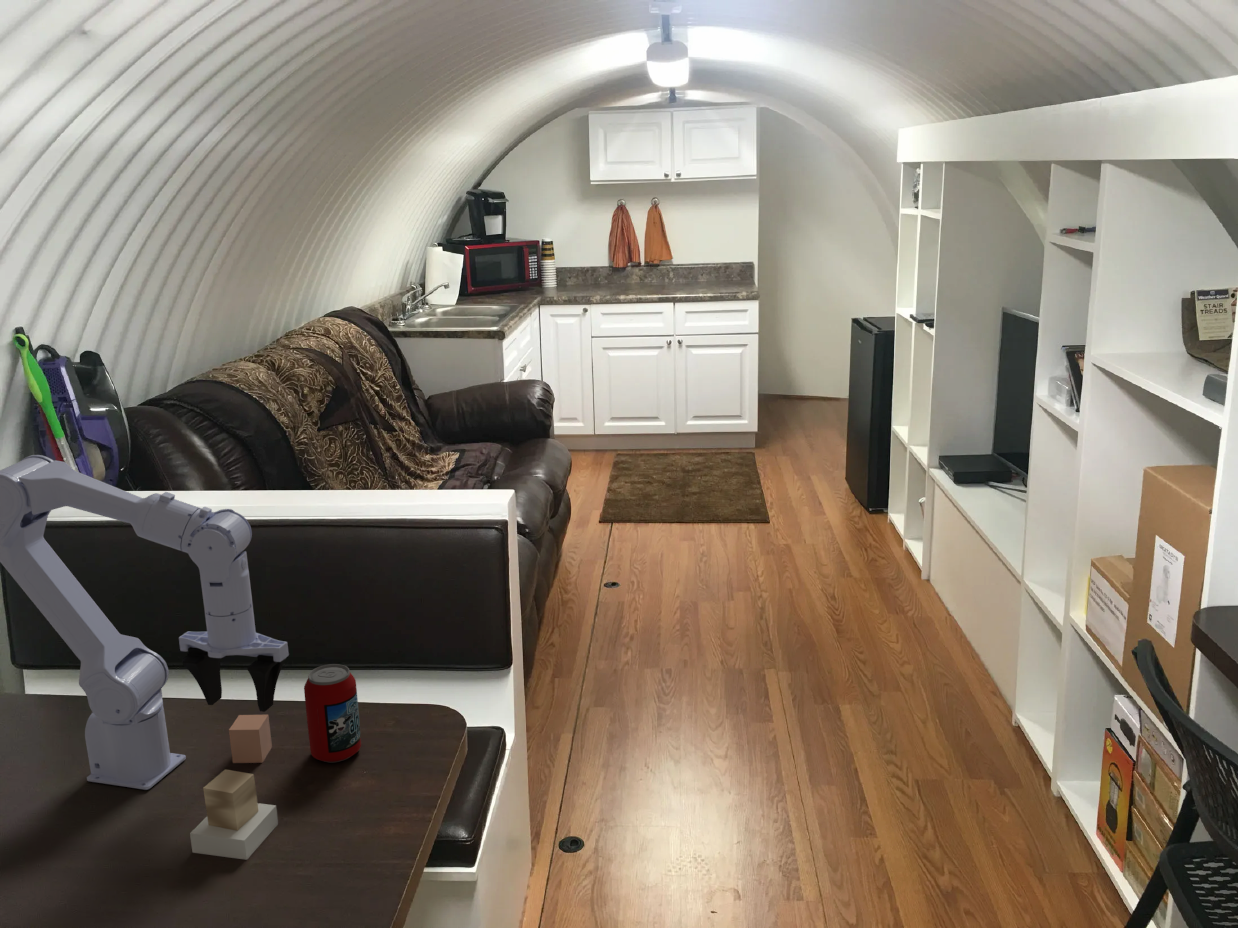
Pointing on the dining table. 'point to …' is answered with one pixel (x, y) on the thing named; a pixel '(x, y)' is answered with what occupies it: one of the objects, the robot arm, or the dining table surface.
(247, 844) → the grey slab
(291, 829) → the dining table surface
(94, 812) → the dining table surface
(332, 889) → the dining table surface
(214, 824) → the maple block
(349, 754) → the beverage can
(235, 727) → the terracotta block
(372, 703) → the dining table surface
